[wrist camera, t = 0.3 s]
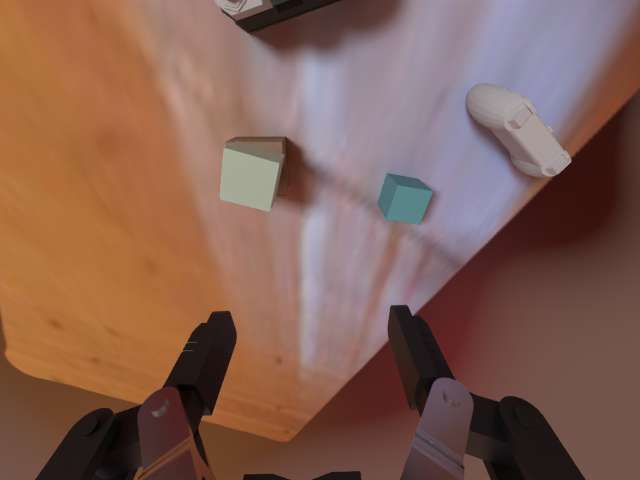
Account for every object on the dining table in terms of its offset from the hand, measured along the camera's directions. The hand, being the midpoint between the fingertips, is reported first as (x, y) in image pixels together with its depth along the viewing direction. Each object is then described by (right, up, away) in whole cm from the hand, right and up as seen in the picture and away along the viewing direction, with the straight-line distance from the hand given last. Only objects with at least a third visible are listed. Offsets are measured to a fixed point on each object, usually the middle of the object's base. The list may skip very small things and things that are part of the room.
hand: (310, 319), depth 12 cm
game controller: (+24, +20, +22) cm, 38 cm away
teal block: (+13, +12, +26) cm, 32 cm away
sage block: (-8, +13, +20) cm, 25 cm away
